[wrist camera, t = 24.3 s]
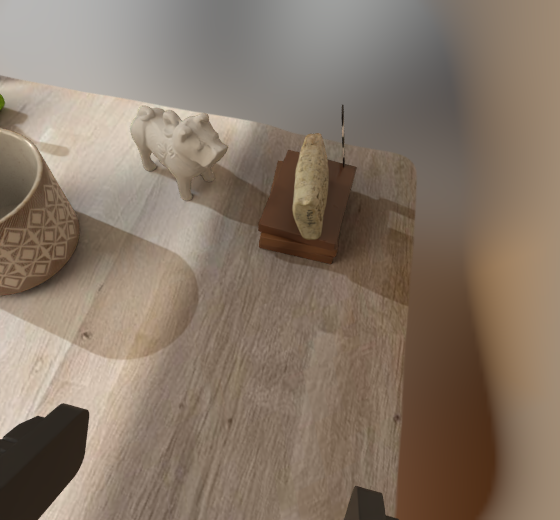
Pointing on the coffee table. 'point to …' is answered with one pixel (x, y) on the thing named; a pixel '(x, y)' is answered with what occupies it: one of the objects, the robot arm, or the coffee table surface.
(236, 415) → the coffee table surface
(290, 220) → the slab pile
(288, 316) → the coffee table surface
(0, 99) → the bunny pull toy
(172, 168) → the dog figurine
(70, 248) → the planter
